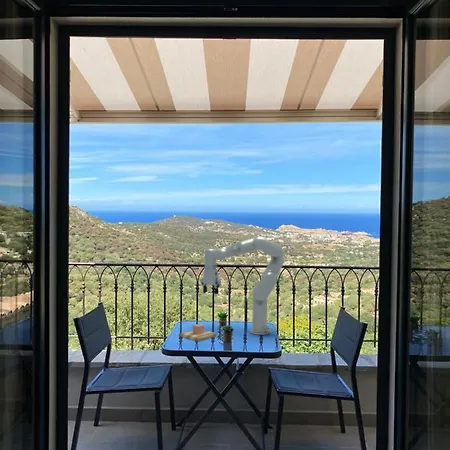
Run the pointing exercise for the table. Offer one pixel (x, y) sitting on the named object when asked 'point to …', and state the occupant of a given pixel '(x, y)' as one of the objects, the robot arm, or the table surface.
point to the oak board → (198, 337)
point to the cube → (198, 329)
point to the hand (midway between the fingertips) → (210, 293)
